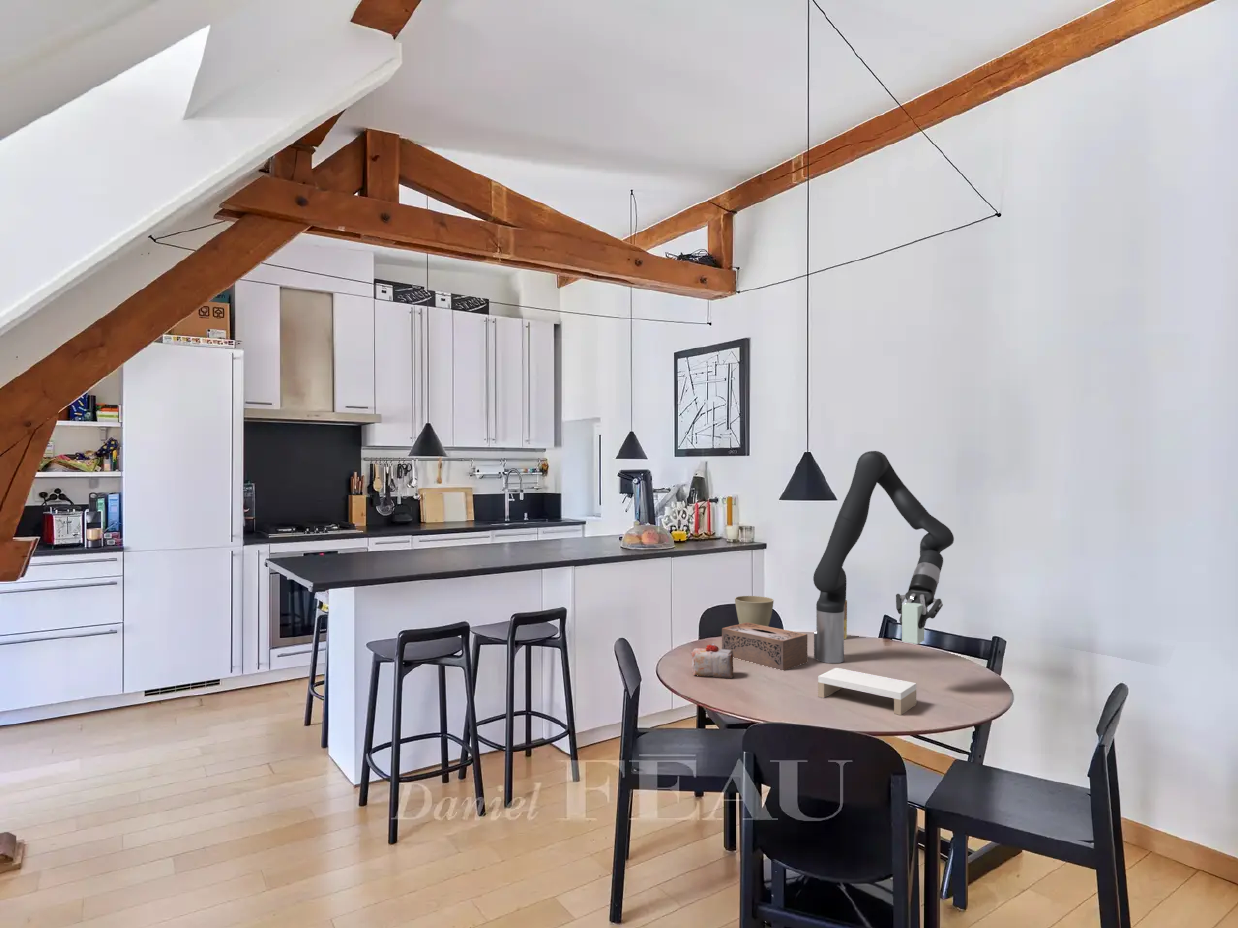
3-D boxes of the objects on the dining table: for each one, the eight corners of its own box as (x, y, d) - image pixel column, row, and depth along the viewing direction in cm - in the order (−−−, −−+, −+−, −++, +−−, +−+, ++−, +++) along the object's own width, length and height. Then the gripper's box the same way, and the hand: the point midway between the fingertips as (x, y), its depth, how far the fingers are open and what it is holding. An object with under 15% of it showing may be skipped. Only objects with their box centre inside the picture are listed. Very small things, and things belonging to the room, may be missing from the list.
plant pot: (765, 646, 270) (765, 603, 270) (728, 641, 279) (728, 599, 279) (779, 638, 283) (779, 597, 283) (744, 633, 291) (744, 594, 291)
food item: (689, 677, 231) (689, 646, 231) (693, 670, 239) (693, 640, 239) (732, 680, 228) (732, 649, 228) (734, 673, 236) (734, 643, 236)
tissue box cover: (721, 656, 258) (721, 628, 258) (746, 649, 267) (746, 622, 267) (782, 671, 239) (782, 641, 239) (807, 663, 248) (807, 634, 248)
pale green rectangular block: (902, 641, 217) (902, 604, 216) (909, 638, 221) (909, 602, 221) (917, 644, 214) (917, 606, 214) (924, 640, 218) (924, 603, 218)
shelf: (818, 696, 212) (818, 675, 212) (835, 687, 221) (836, 667, 221) (900, 715, 196) (900, 693, 196) (916, 704, 205) (916, 683, 205)
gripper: (898, 570, 228) (883, 615, 218) (946, 575, 218) (932, 622, 209) (904, 585, 232) (890, 629, 222) (951, 590, 222) (938, 637, 213)
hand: (911, 625), depth 216 cm, fingers closed on pale green rectangular block, 4 cm apart
